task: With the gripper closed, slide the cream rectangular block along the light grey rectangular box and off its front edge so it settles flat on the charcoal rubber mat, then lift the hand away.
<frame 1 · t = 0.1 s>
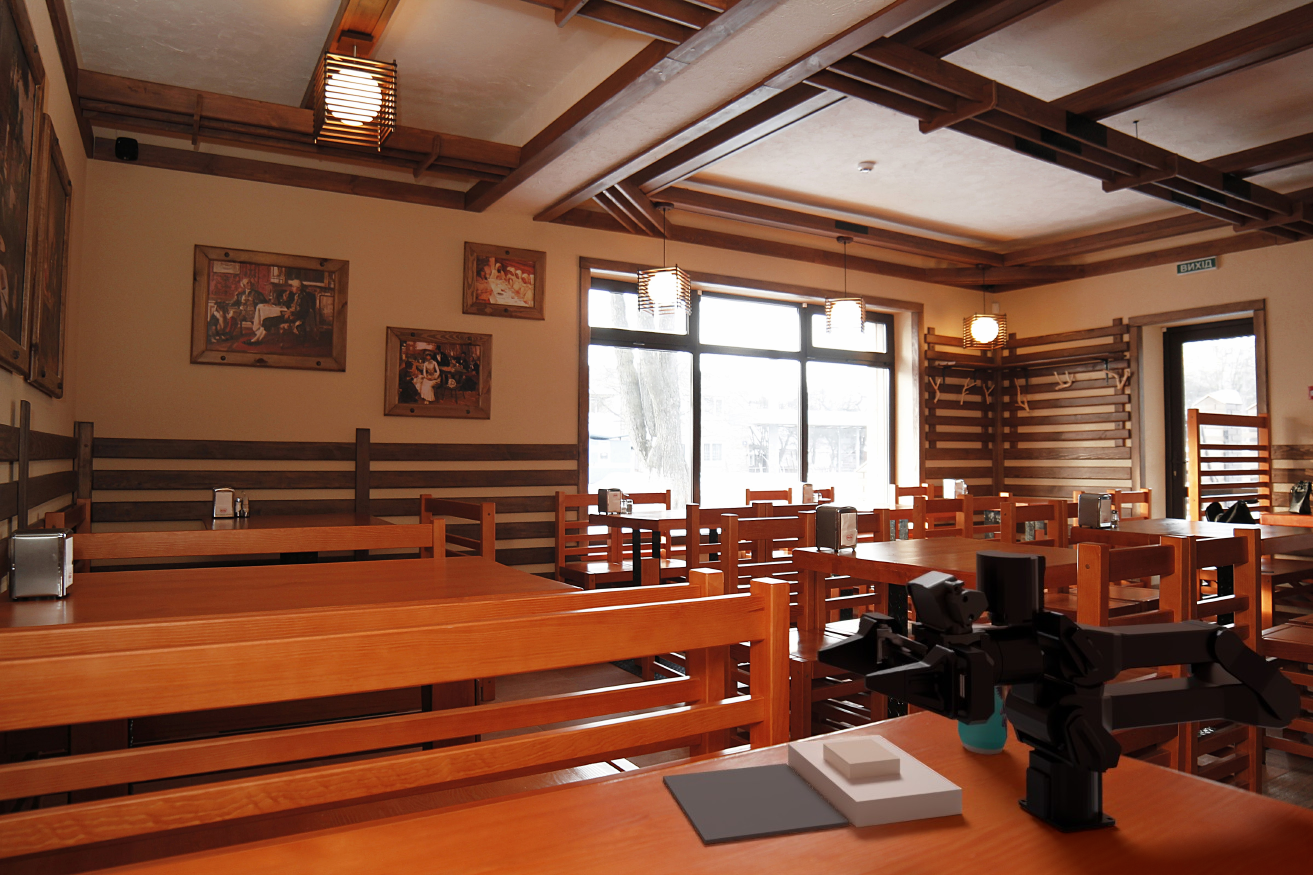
hand: (840, 668, 73), 17 cm above the table, tool horizontal, fingers open, 9 cm apart
beverage can: (982, 749, 98), on the table
charcoal mat: (750, 801, 82), on the table
light grey rectangular box: (868, 787, 86), on the table
cream rectangular block: (860, 765, 86), point 2 cm above the table, touching light grey rectangular box
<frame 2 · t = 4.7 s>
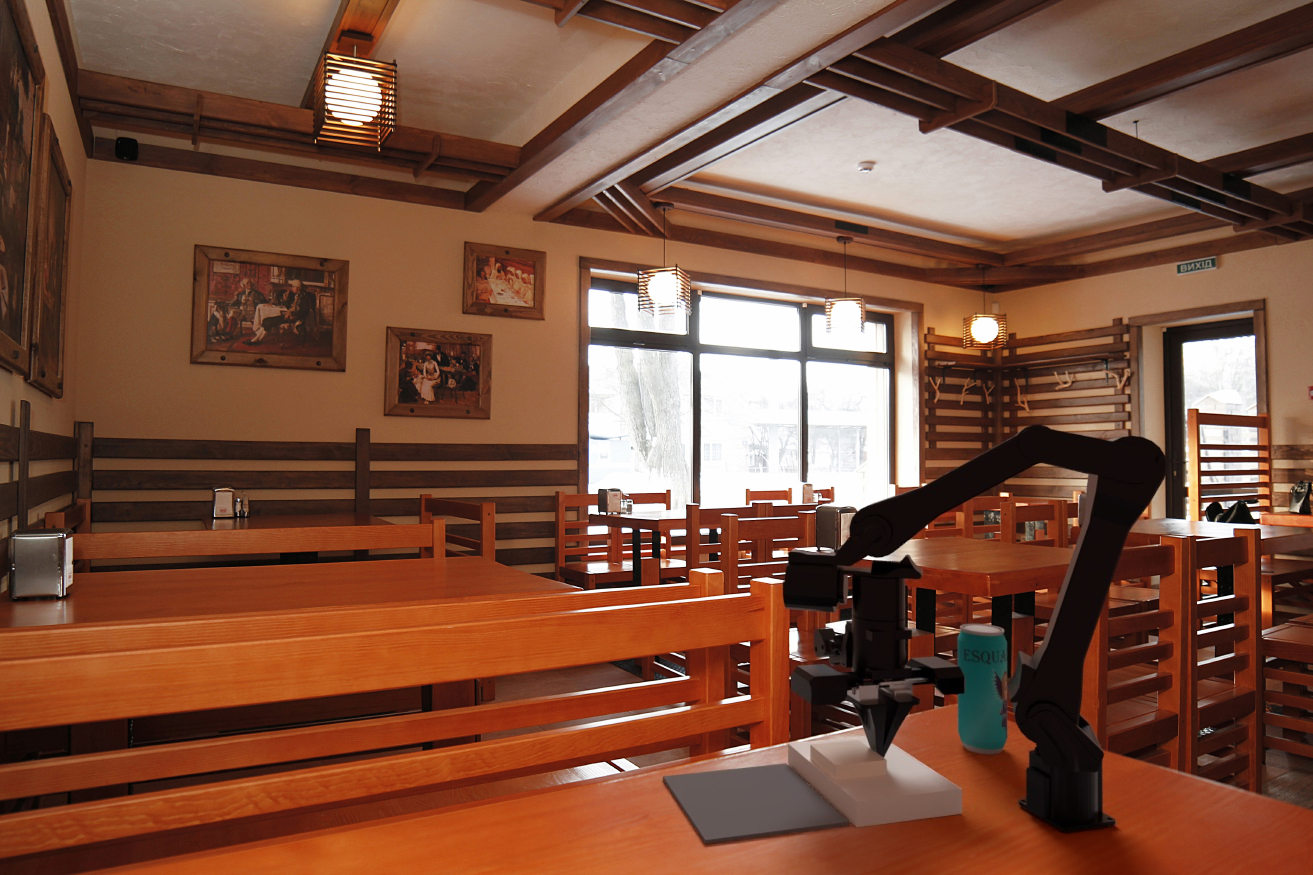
hand: (878, 757, 86), 3 cm above the table, tool pointing down, fingers closed
cream rectangular block: (847, 766, 85), point 3 cm above the table, touching light grey rectangular box, gripper
everything else where it was.
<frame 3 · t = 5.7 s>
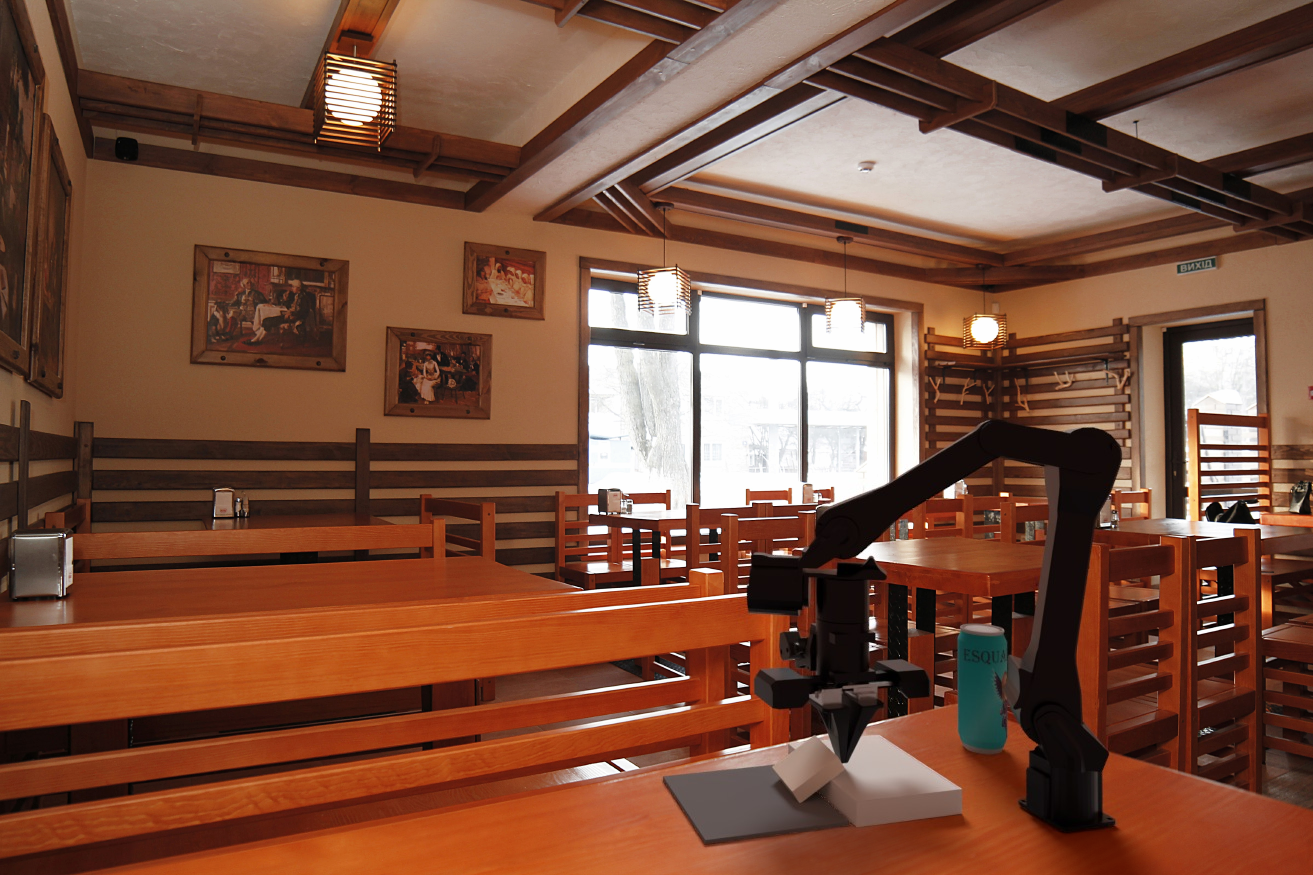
hand: (842, 761, 85), 3 cm above the table, tool pointing down, fingers closed
cream rectangular block: (811, 773, 84), point 2 cm above the table, tilted 33°, touching charcoal mat
everything else where it was.
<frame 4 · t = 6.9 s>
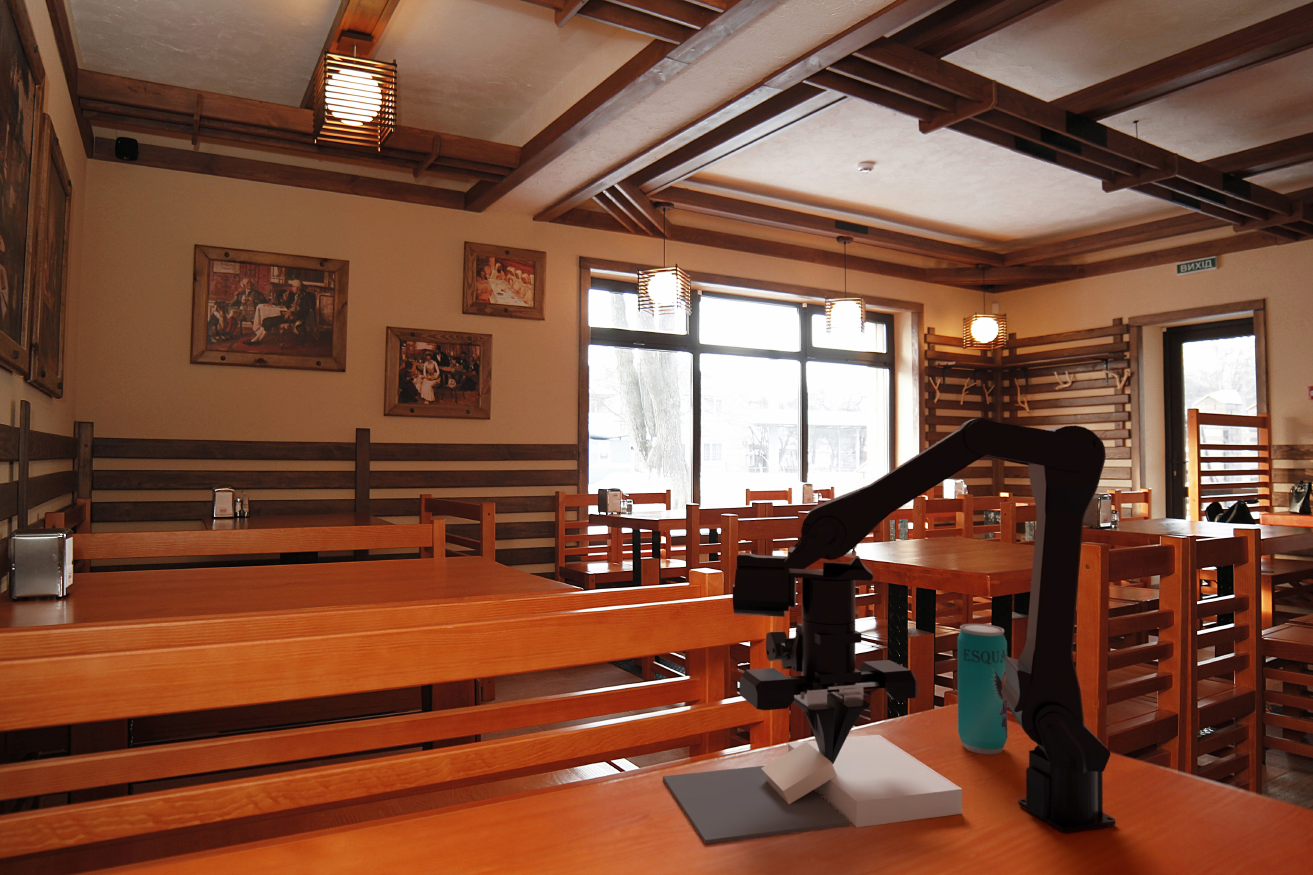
hand: (828, 762, 85), 3 cm above the table, tool pointing down, fingers closed
cream rectangular block: (800, 778, 84), point 2 cm above the table, tilted 24°
everything else where it was.
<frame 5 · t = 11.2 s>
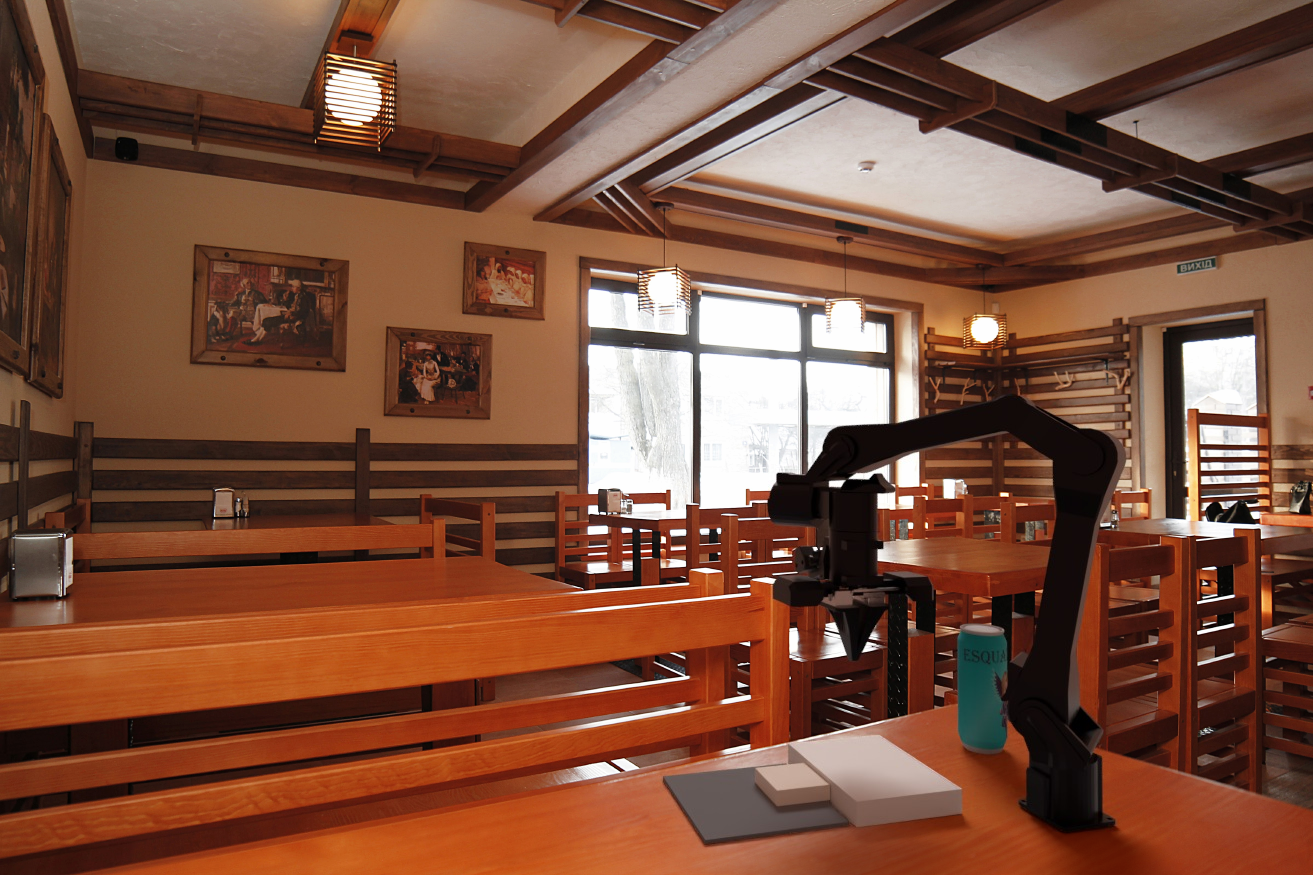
hand: (853, 660, 93), 12 cm above the table, tool pointing down, fingers closed
cream rectangular block: (791, 790, 84), resting on charcoal mat
everything else where it was.
at the end: cream rectangular block inside the target area (5.9 cm from its centre), resting on charcoal mat; cream rectangular block moved 8.4 cm from its start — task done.
